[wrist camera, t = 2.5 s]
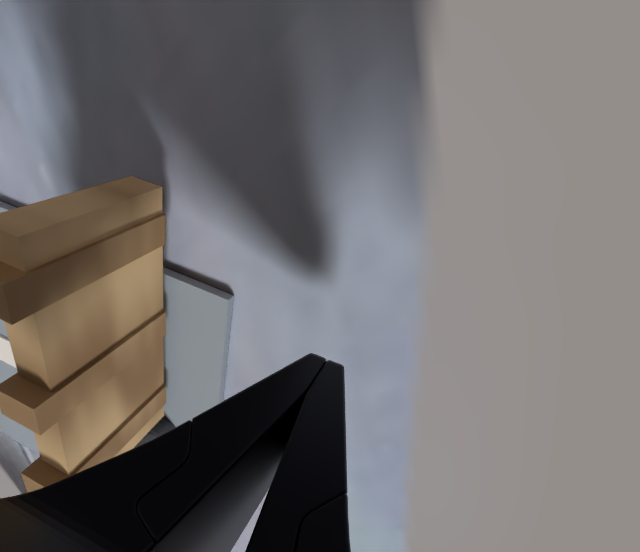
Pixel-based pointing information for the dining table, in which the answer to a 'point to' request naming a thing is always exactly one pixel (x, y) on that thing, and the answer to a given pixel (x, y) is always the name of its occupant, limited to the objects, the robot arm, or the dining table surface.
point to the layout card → (167, 351)
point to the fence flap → (84, 323)
